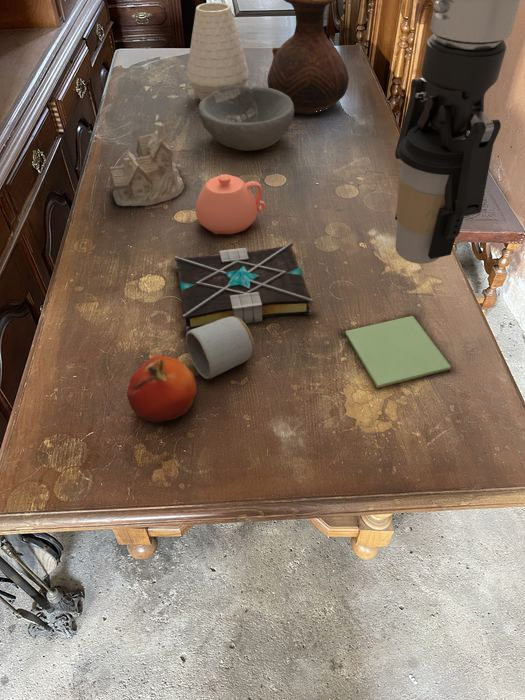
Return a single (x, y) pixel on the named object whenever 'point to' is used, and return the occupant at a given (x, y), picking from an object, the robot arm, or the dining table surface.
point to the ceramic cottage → (147, 172)
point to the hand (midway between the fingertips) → (421, 235)
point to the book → (242, 286)
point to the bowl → (246, 116)
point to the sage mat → (396, 351)
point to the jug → (309, 62)
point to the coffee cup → (422, 191)
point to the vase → (215, 51)
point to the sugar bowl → (228, 204)
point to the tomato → (161, 389)
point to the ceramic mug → (219, 346)
